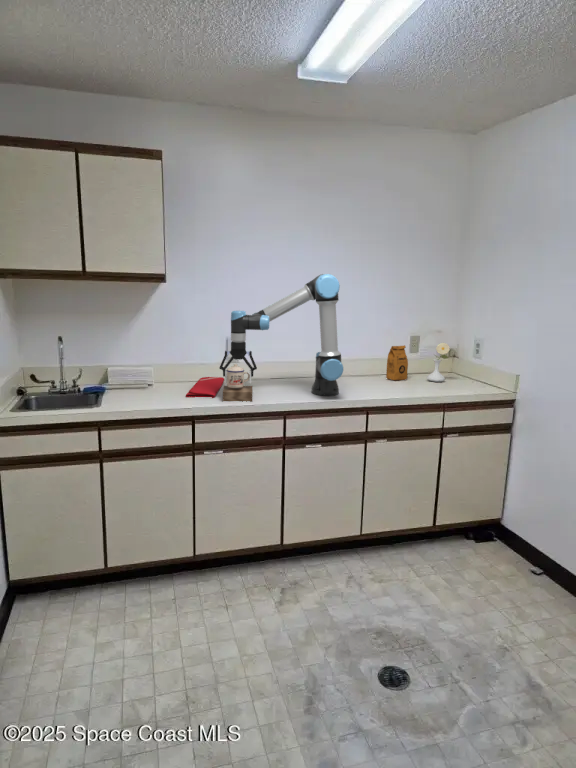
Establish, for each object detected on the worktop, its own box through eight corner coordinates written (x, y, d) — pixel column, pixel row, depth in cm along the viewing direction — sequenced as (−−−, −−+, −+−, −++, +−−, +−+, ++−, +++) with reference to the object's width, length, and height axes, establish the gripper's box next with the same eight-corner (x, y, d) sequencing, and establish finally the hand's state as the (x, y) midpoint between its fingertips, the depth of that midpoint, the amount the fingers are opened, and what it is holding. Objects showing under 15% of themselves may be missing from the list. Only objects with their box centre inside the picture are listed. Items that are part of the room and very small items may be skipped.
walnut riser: (252, 395, 275) (252, 385, 274) (252, 401, 260) (252, 392, 259) (224, 394, 274) (224, 385, 273) (222, 401, 259) (222, 391, 258)
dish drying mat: (184, 398, 266) (184, 391, 265) (198, 382, 306) (198, 376, 306) (215, 399, 266) (215, 392, 265) (225, 383, 306) (225, 376, 305)
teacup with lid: (227, 388, 260) (227, 365, 257) (225, 384, 268) (225, 362, 266) (251, 387, 263) (251, 365, 260) (248, 384, 271) (248, 362, 269)
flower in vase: (423, 381, 325) (426, 342, 320) (430, 378, 334) (433, 340, 329) (443, 384, 317) (447, 344, 312) (450, 381, 326) (453, 342, 321)
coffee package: (409, 380, 325) (411, 346, 321) (393, 381, 320) (395, 346, 316) (399, 377, 334) (402, 344, 330) (383, 378, 329) (386, 344, 325)
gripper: (261, 340, 265) (261, 381, 270) (215, 340, 264) (215, 381, 268) (262, 342, 258) (261, 384, 263) (214, 341, 256) (214, 384, 261)
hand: (238, 382), depth 265 cm, fingers closed on teacup with lid, 12 cm apart
